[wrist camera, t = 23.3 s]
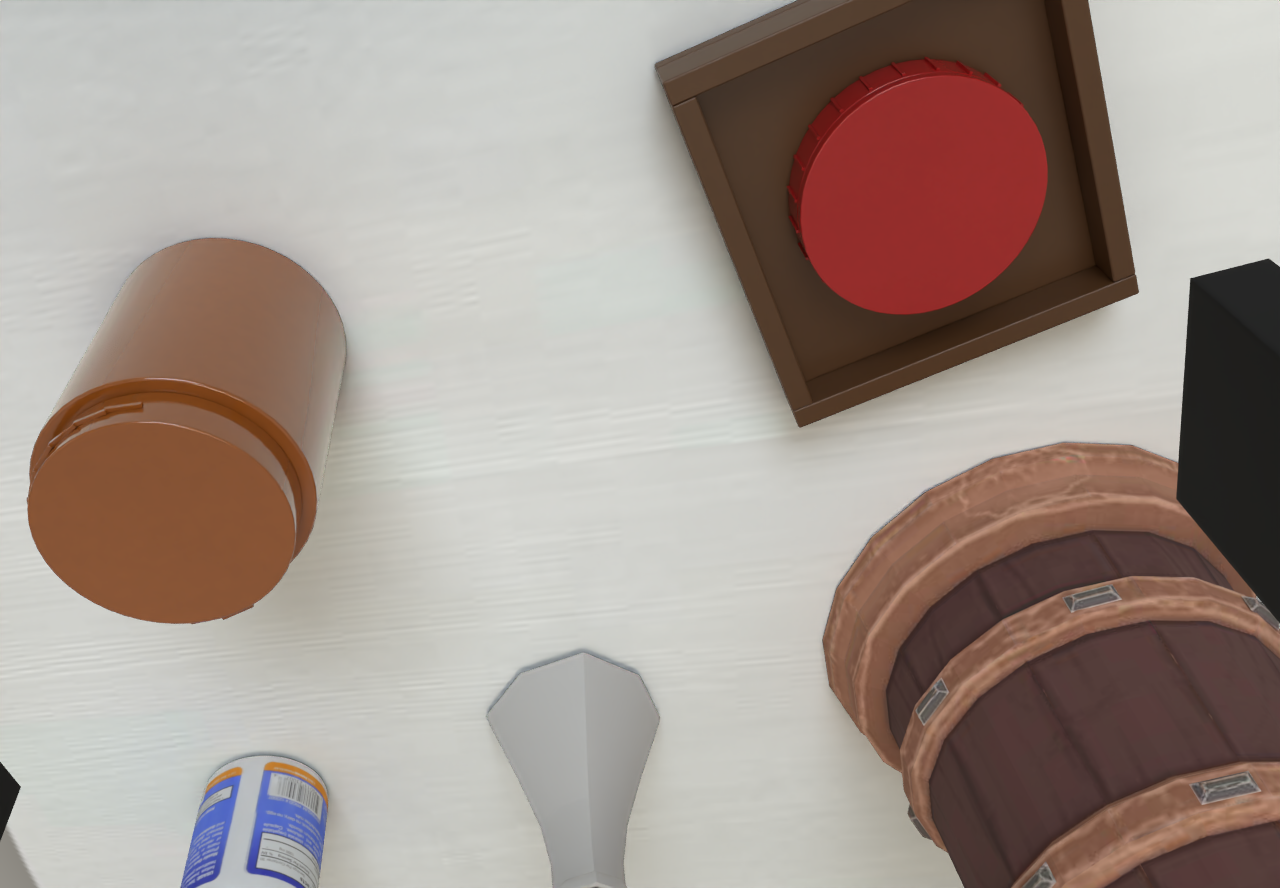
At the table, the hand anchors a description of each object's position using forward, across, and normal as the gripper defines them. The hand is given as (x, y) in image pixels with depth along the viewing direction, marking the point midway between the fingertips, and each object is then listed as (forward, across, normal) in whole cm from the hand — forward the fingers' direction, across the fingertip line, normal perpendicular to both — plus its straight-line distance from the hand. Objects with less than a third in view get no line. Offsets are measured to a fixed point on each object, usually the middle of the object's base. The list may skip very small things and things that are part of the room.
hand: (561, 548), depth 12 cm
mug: (+27, +17, -32) cm, 45 cm away
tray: (+27, +11, -10) cm, 31 cm away
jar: (+27, -12, -10) cm, 31 cm away
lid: (+25, +11, -10) cm, 29 cm away
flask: (+27, -5, -31) cm, 42 cm away
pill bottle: (+27, -20, -31) cm, 46 cm away
